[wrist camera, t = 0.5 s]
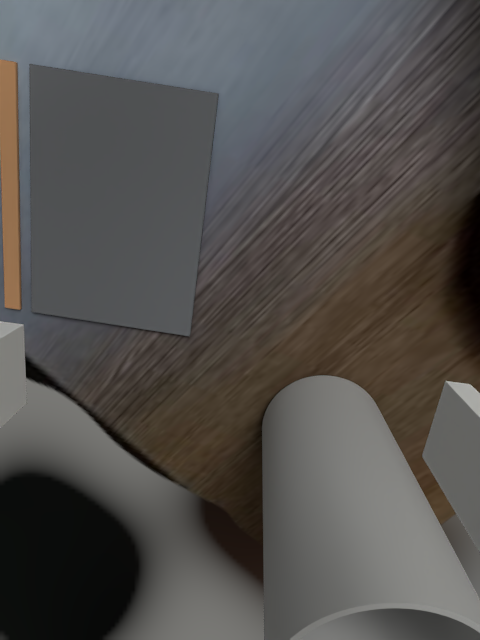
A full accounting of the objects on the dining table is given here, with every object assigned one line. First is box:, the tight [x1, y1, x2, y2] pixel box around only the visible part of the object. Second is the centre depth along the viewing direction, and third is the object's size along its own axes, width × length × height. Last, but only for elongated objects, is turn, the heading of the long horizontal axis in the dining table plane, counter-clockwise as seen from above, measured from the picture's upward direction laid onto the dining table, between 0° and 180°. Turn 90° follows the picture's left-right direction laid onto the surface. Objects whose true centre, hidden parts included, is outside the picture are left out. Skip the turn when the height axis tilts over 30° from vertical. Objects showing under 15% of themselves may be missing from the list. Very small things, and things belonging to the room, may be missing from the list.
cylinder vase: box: [262, 375, 480, 640], centre depth 33 cm, size 12×12×25 cm
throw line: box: [0, 60, 21, 310], centre depth 39 cm, size 22×2×1 cm, turn 172°
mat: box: [30, 64, 219, 336], centre depth 39 cm, size 22×16×1 cm
